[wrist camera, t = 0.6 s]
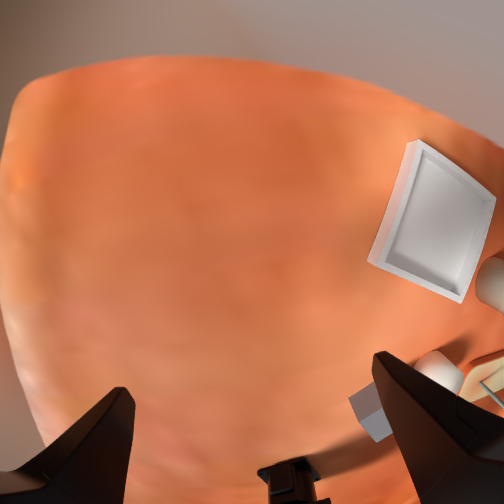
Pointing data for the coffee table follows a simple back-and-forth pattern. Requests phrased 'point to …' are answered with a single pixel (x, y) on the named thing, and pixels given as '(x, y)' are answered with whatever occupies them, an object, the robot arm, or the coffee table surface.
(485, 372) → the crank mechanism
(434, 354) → the white rounded cylinder
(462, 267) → the white tray
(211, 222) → the coffee table surface
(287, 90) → the coffee table surface
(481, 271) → the pale green cylinder
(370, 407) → the grey block
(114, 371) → the coffee table surface
